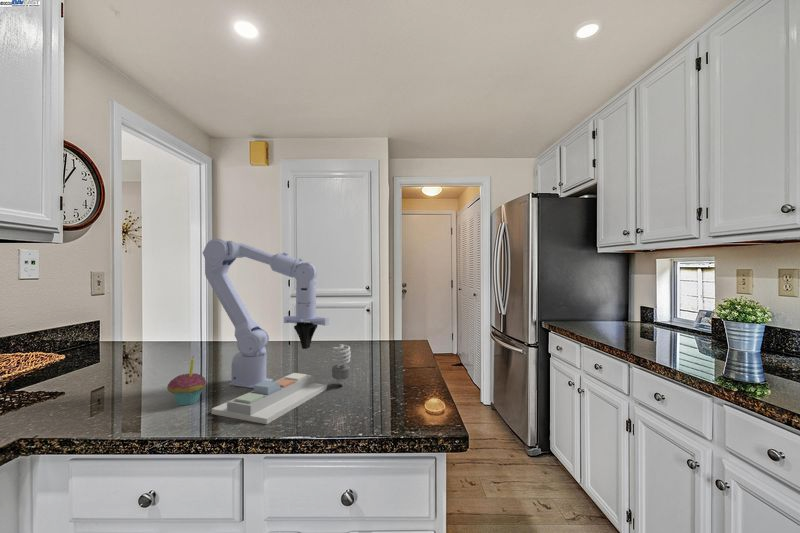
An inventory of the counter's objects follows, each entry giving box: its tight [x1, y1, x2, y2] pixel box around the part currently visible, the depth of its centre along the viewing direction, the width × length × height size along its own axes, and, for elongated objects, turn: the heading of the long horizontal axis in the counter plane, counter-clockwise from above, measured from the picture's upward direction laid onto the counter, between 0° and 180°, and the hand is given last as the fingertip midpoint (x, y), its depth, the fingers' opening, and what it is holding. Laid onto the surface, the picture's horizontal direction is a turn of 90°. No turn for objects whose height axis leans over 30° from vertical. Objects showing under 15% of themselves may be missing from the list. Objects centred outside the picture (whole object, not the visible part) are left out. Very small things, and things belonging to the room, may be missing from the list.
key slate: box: [253, 380, 280, 395], centre depth 92 cm, size 4×4×2 cm
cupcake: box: [166, 355, 207, 406], centre depth 93 cm, size 9×8×12 cm
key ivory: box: [284, 372, 308, 381], centre depth 103 cm, size 4×4×2 cm
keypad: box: [211, 372, 328, 425], centre depth 95 cm, size 16×25×3 cm, turn 160°
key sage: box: [234, 392, 264, 404], centre depth 87 cm, size 4×4×2 cm
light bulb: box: [331, 343, 352, 386], centre depth 108 cm, size 6×6×12 cm
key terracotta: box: [275, 378, 294, 388], centre depth 98 cm, size 4×4×2 cm
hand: (305, 348), depth 109 cm, fingers closed
